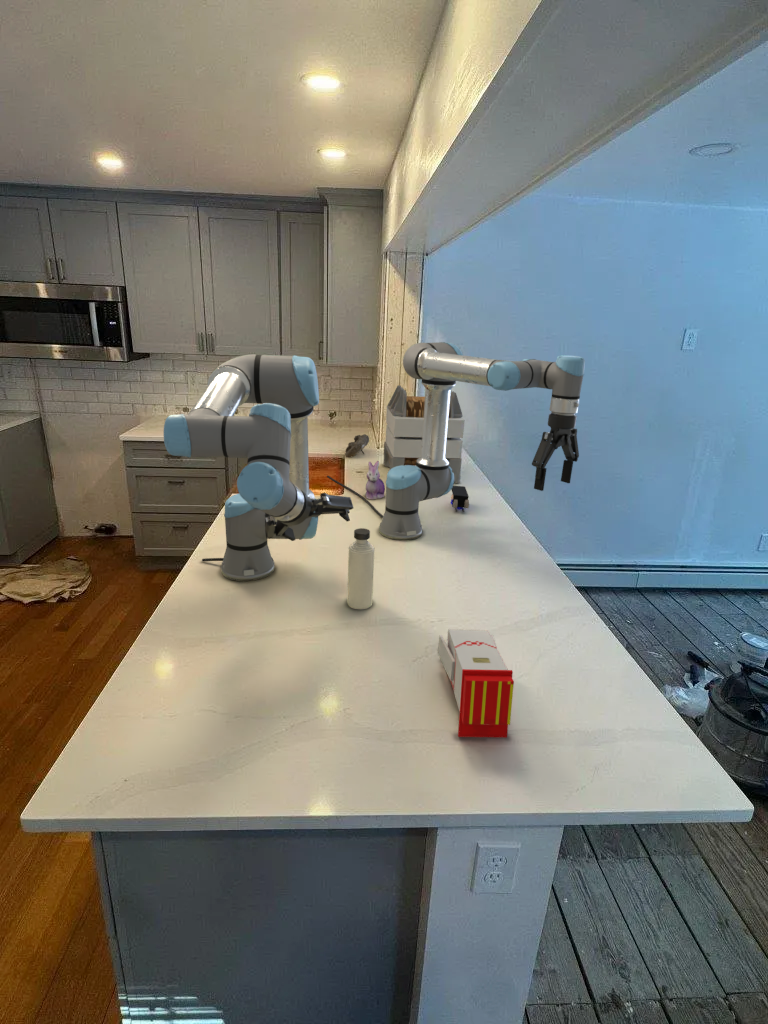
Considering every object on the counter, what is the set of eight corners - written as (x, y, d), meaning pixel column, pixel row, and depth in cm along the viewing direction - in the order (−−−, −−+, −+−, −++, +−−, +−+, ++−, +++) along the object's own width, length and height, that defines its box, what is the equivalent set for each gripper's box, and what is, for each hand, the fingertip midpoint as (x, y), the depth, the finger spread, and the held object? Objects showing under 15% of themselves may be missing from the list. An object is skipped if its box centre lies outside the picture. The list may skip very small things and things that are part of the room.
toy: (488, 613, 130) (523, 677, 101) (484, 667, 133) (517, 744, 104) (435, 612, 130) (455, 676, 101) (432, 666, 133) (451, 743, 103)
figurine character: (469, 517, 223) (463, 501, 236) (471, 500, 219) (465, 484, 233) (452, 516, 222) (447, 500, 236) (454, 499, 219) (449, 483, 232)
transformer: (382, 463, 289) (386, 382, 275) (445, 464, 293) (451, 384, 279) (390, 482, 257) (394, 392, 243) (460, 483, 261) (468, 394, 247)
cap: (371, 535, 147) (372, 529, 146) (366, 541, 143) (366, 535, 143) (357, 533, 148) (357, 527, 147) (351, 538, 144) (351, 532, 144)
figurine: (370, 501, 232) (371, 465, 226) (359, 493, 240) (360, 459, 235) (390, 498, 236) (392, 463, 231) (379, 491, 244) (380, 457, 239)
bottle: (375, 599, 154) (378, 530, 147) (367, 611, 148) (369, 539, 141) (352, 595, 156) (354, 526, 149) (343, 606, 150) (345, 535, 143)
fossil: (345, 440, 315) (366, 425, 310) (356, 453, 318) (377, 439, 313) (338, 454, 296) (361, 438, 291) (350, 468, 298) (372, 452, 293)
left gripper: (233, 542, 111) (274, 558, 131) (351, 499, 108) (374, 522, 129) (225, 507, 113) (266, 528, 133) (340, 464, 110) (365, 492, 131)
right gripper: (548, 419, 148) (537, 496, 155) (598, 411, 163) (586, 482, 171) (525, 414, 153) (515, 489, 160) (575, 407, 169) (564, 476, 176)
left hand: (319, 525), depth 131 cm, fingers open, 13 cm apart
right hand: (552, 485), depth 166 cm, fingers open, 13 cm apart
